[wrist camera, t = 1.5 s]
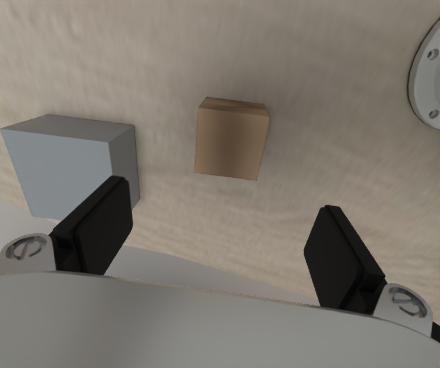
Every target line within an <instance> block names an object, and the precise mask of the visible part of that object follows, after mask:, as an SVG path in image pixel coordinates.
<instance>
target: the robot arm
mask: <svg viewBox="0 0 440 368" xmlns="http://www.w3.org/2000/svg"><path fill="white" fill-rule="evenodd" d="M408 87H409V99H410V102H411V105H412V108H413V110H414V111H415V113H416V115H417V116H418V117H419V118H420V119H421V120H422V121H423V122H424V123H425V124H427V125H429V126H432V127H434V128H436V129H439V130H440V20H439V21H438V22H437V23H436V24H435V25H434V27H433V28H432V29H431V31H430V32H429V34H428V35H427V37H426V38H425V40H424V41H423V43H422V45H421V47H420V49H419V51H418V53H417V55H416V57H415V59H414V62H413V66H412V69H411V72H410V78H409V85H408ZM132 227H133V219H132V208H131V198H130V187H129V181H128V180H126V179H125V177H122V176H115V175H111V176H110V177H109V178H108V179H107V180H106V181H105V182H103V183H102V184H101V185H100V186H99V187H98V188H97V189H96V190H95V191H94V192H93V193H92V194H90V195H89V196H88V197H87V198H86V199H85V200H84V201H83V202H82V203H81V204H80V205H79V206H77V207H76V208H75V209H74V210H73V211H72V212H71V213H70V214H69V215H68V216H67V217H65V218H64V219H63V220H62V221H61V222H60V223H59V224H58V225H57V226H56V227H55V228H54V229H53V231H52V232H51V233H50V234H49V235H46V234H41V233H34V234H28V235H24V236H21V237H19V238H17V239H15V240H13V241H11V242H9V243H8V244H7V245H6V246H4V248H3V249H2V250H1V252H0V368H440V326H439V325H438V324H436V323H435V322H433V313H432V310H431V308H430V307H429V305H428V304H427V303H426V302H425V300H424V299H423V298H421V297H420V296H419V295H418V294H417V293H415V292H414V291H412V290H411V289H409V288H407V287H405V286H402V285H399V284H394V283H390V284H388V283H387V282H386V280H385V279H384V278H385V274H384V273H383V271H382V270H381V268H380V267H379V265H378V264H377V262H376V261H375V259H374V258H373V256H372V255H371V253H370V252H369V250H368V249H367V247H366V246H365V244H364V243H363V241H362V240H361V238H360V237H359V235H358V234H357V232H356V231H355V229H354V228H353V226H352V225H351V223H350V222H349V220H348V219H347V217H346V216H345V214H344V213H343V211H342V210H341V208H340V207H338V206H331V205H325V206H324V207H322V208H320V210H319V213H318V215H317V218H316V220H315V223H314V225H313V228H312V230H311V233H310V235H309V238H308V240H307V242H306V245H305V247H304V256H305V260H306V263H307V266H308V269H309V272H310V275H311V278H312V281H313V284H314V287H315V291H316V294H317V297H318V300H319V303H320V306H315V305H309V304H301V303H295V302H289V301H282V300H275V299H269V298H261V297H255V296H248V295H241V294H235V293H228V292H221V291H213V290H207V289H200V288H192V287H186V286H179V285H171V284H164V283H157V282H148V281H142V280H135V279H128V278H120V277H112V276H104V274H105V272H106V270H107V269H108V267H109V266H110V264H111V262H112V261H113V259H114V258H115V256H116V254H117V253H118V251H119V249H120V248H121V246H122V245H123V243H124V242H125V240H126V238H127V237H128V235H129V234H130V232H131V230H132Z"/></svg>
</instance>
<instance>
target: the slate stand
mask: <svg viewBox="0 0 440 368" xmlns="http://www.w3.org/2000/svg"><path fill="white" fill-rule="evenodd" d="M0 130H1V133H2V136H3V139H4V141H5V144H6V147H7V149H8V152H9V155H10V158H11V160H12V163H13V166H14V169H15V171H16V174H17V177H18V180H19V182H20V185H21V188H22V190H23V193H24V196H25V199H26V201H27V204H28V207H29V210H30V212H31V215H32V216H34V217H42V218H50V219H57V220H63V219H64V218H65V217H67V216H68V215H69V214H70V213H71V212H72V211H73V210H74V209H75V208H76V207H77V206H79V205H80V204H81V203H82V202H83V201H84V200H85V199H86V198H87V197H88V196H89V195H90V194H92V193H93V192H94V191H95V190H96V189H97V188H98V187H99V186H100V185H101V184H102V183H103V182H105V181H106V180H107V179H108V178H109V177H110V176H111V175H115V176H122V177H125V179H126V180H128V181H129V187H130V198H131V208H132V209H133V208H134V206H135V205H136V204H137V202H138V201H139V199H140V195H139V181H138V168H137V155H136V142H135V129H134V125H127V124H119V123H112V122H104V121H96V120H88V119H80V118H72V117H64V116H56V115H48V114H47V115H44V116H41V117H37V118H34V119H31V120H27V121H24V122H21V123H17V124H14V125H11V126H7V127H4V128H1V129H0Z"/></svg>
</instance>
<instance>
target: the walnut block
mask: <svg viewBox="0 0 440 368" xmlns="http://www.w3.org/2000/svg"><path fill="white" fill-rule="evenodd" d="M269 121H270V115H269V113H268V112H267V110H266V108H265V106H264V104H258V103H250V102H242V101H234V100H226V99H218V98H210V97H206V99H205V100H204V101H203V102H202V104H201V105H200V106H199V108H198V120H197V137H196V154H195V170H194V173H201V174H209V175H217V176H225V177H232V178H240V179H248V180H256V181H257V178H258V173H259V168H260V164H261V159H262V154H263V150H264V145H265V140H266V135H267V131H268V126H269Z"/></svg>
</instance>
